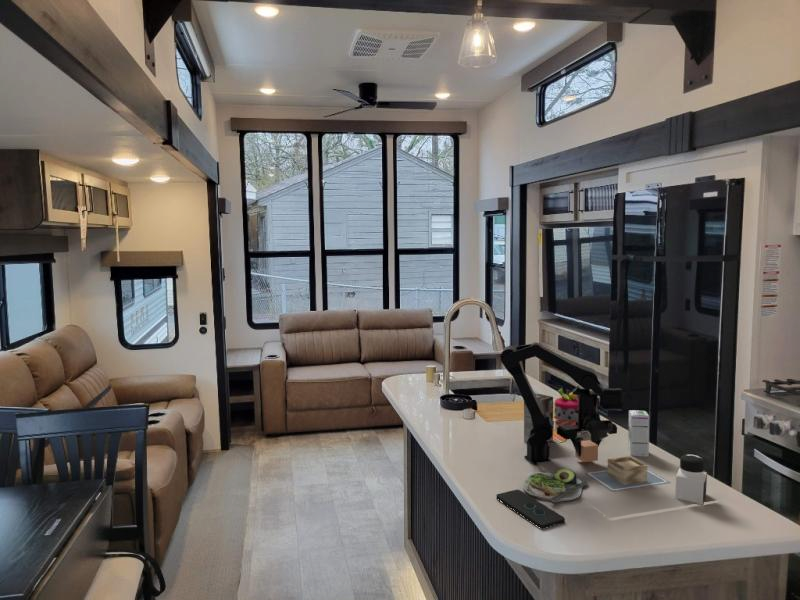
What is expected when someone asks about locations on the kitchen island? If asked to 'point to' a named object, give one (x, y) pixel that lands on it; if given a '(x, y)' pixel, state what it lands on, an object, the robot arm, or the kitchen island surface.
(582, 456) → the terracotta block
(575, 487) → the salad plate
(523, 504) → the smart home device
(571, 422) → the cake
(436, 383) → the kitchen island surface
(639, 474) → the oak foundation
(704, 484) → the medicine bottle
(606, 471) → the board
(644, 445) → the syrup box
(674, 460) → the kitchen island surface
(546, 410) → the coffee box
